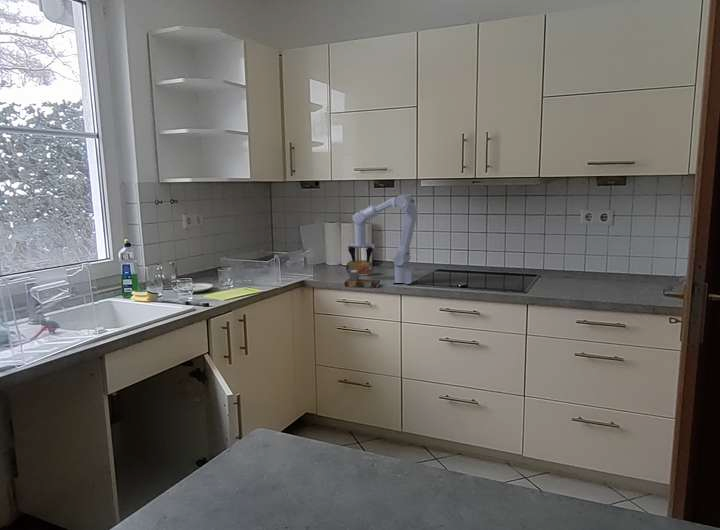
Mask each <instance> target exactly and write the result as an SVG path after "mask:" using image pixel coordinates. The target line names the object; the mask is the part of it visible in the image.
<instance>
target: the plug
mask: <svg viewBox="0 0 720 530" xmlns="http://www.w3.org/2000/svg"><path fill="white" fill-rule="evenodd" d="M349 279H350V281H356V282H358V281H359V279H360V276H359V271H358V270H352V271H351V272H350V274H349Z"/></svg>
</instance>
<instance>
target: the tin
mask: <svg viewBox="0 0 720 530" xmlns="http://www.w3.org/2000/svg"><path fill="white" fill-rule="evenodd" d="M345 270H346V272H347V273H348V275H350V272H351V271H352V270H358V271H359V274H368V275H367V276H370V275H371V274H372V273H373V272H374V264H373V263H372V262H371V261H370V260H369V262H367V259H366V260H365V259H364V260H363V259H362V260H356V259H355V262H353V261H352V260H349V261H348V262H347V263H346V266H345Z"/></svg>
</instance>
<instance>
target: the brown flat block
mask: <svg viewBox="0 0 720 530" xmlns="http://www.w3.org/2000/svg"><path fill="white" fill-rule="evenodd" d="M379 283H380V279H362V278H361V279H360V278H359V281H358V282H356V281H350V278H348V279H347V280H345V281H344V287H345V288H347V287H348V288H368V289H371V288H372V289H376V286H377V285H378V284H379Z"/></svg>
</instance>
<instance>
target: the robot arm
mask: <svg viewBox="0 0 720 530" xmlns="http://www.w3.org/2000/svg"><path fill="white" fill-rule="evenodd" d="M415 201H416V200H415V199H414V198H413V197H412V195H410V194H404V195H403V194H402V195H401V194H400V195H398V196H394V197H392V198H390V199H388V200H386V201H384V202H382V203H381V204H378V205H372V204H369V205H368V207H367V208H364V209H360V211H359V212H355V213H354V214H353V215H352V222H353V224H354V243H346V248H347V250H348V253H349V254H350V256H351V261H353V262H355V260H356V249H365V250H366V251H365V253H366V260H367V262H369V261H370V259H371V257H372V256H371V255H372V253H373V250H374V249H375V248H376V245H375V244H374V243H367V232H366V231H367V228H366V226H367V225H366V223H367V222H368V221H369V220H372V219H374V218H375V217H378V216H379V214H380V212H383V211H384V210H387V209H390V208H392V207H393V208H394V207H397V208H399V209H400V210H401V211H402V212H403V213H404V214H405V220H404V225H403V229H402V233H401V237H400V242H399V246H398V247H397V250H396V253H395V255H394V256H393V257H392V261H393V264H394V281H395V282H396V283H412V282H413V283H414V282H415V275H414V274H415V268H414V266H413V265H410V263H409V262H410V260H411V255H410V253H411V249H410V247H411V243H412V238H413V234H414V230H415V225H416V220H417V217H418V211H417V206H416V202H415ZM413 283H412V284H413Z"/></svg>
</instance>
